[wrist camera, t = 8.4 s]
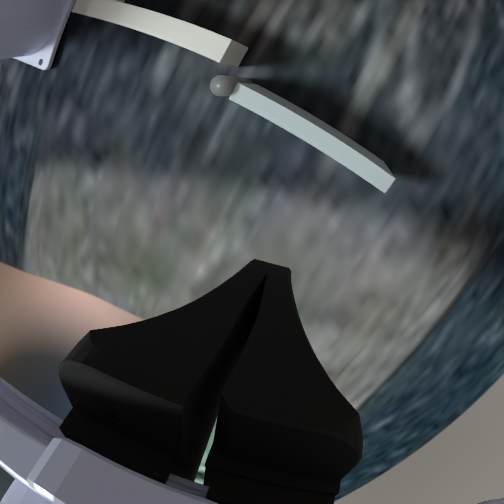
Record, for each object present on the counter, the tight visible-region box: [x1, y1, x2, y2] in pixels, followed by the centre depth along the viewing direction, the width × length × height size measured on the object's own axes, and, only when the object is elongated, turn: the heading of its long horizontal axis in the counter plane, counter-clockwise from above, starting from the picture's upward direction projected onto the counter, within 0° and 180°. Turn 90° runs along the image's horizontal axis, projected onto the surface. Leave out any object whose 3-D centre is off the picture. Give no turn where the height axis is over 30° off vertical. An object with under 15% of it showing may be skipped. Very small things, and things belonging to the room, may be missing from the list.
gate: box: [210, 75, 395, 193], centre depth 14 cm, size 1×8×4 cm, turn 62°
